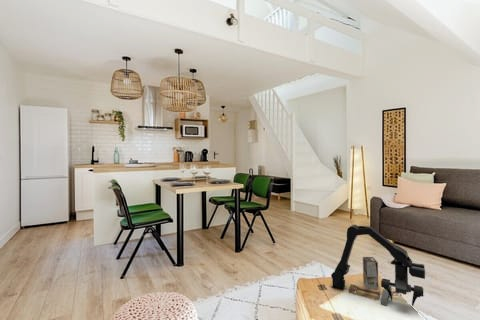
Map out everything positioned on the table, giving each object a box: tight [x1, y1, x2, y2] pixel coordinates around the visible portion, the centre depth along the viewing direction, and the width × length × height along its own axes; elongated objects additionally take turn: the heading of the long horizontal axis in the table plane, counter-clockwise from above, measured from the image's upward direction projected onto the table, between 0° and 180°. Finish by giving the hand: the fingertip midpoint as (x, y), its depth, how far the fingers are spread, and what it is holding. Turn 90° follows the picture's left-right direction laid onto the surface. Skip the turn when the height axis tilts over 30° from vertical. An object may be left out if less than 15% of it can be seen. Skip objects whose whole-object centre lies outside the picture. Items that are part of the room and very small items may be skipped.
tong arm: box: [348, 285, 380, 301], centre depth 144 cm, size 15×2×4 cm, turn 56°
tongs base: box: [348, 283, 381, 298], centre depth 146 cm, size 15×7×2 cm, turn 55°
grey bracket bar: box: [380, 288, 390, 307], centre depth 139 cm, size 3×12×3 cm, turn 145°
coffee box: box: [362, 256, 379, 291], centre depth 156 cm, size 9×6×16 cm
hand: (402, 303), depth 135 cm, fingers open, 9 cm apart
